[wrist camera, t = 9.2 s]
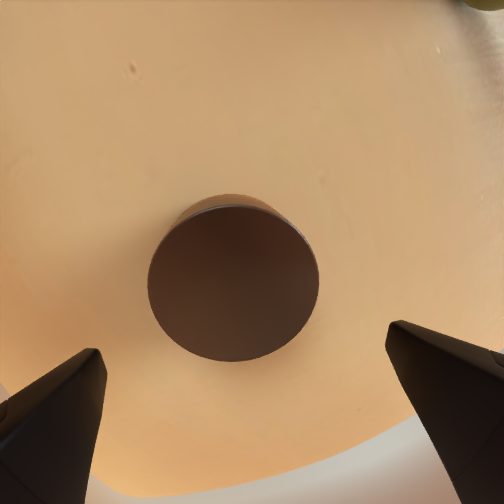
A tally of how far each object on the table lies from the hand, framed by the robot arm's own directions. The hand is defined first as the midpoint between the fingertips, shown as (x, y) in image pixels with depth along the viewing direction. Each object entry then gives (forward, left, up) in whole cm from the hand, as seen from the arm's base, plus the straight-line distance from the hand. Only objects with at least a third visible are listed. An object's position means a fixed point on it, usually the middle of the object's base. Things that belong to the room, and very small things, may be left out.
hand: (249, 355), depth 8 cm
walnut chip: (0, 0, -6) cm, 6 cm away
